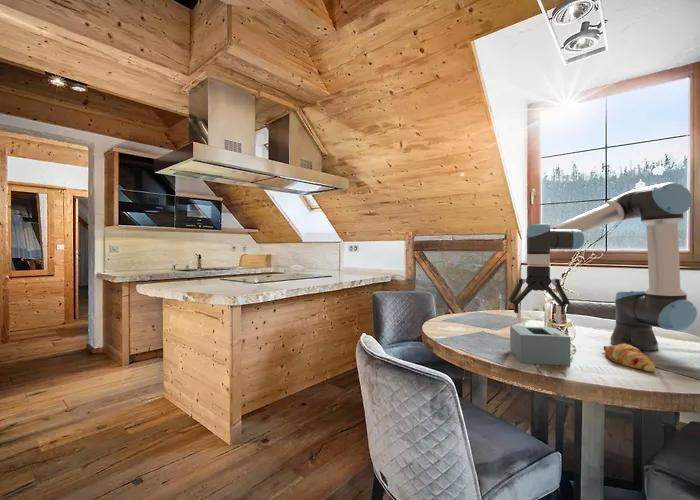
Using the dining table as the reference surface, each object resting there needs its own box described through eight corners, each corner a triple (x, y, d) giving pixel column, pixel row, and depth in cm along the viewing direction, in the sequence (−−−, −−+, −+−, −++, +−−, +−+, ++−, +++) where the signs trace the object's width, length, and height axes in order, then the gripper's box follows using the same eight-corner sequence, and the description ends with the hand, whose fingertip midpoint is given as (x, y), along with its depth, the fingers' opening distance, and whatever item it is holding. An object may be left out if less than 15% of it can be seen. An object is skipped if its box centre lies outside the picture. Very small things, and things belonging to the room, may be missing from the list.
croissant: (662, 385, 109) (674, 363, 108) (635, 370, 108) (647, 349, 108) (611, 361, 130) (621, 343, 130) (588, 349, 130) (598, 331, 129)
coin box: (554, 353, 130) (554, 327, 130) (570, 365, 117) (570, 337, 116) (510, 350, 133) (510, 325, 133) (520, 362, 120) (520, 334, 120)
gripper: (571, 265, 126) (571, 321, 126) (500, 264, 131) (500, 319, 131) (580, 266, 119) (580, 326, 119) (504, 265, 124) (504, 323, 124)
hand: (538, 322), depth 125 cm, fingers open, 13 cm apart
